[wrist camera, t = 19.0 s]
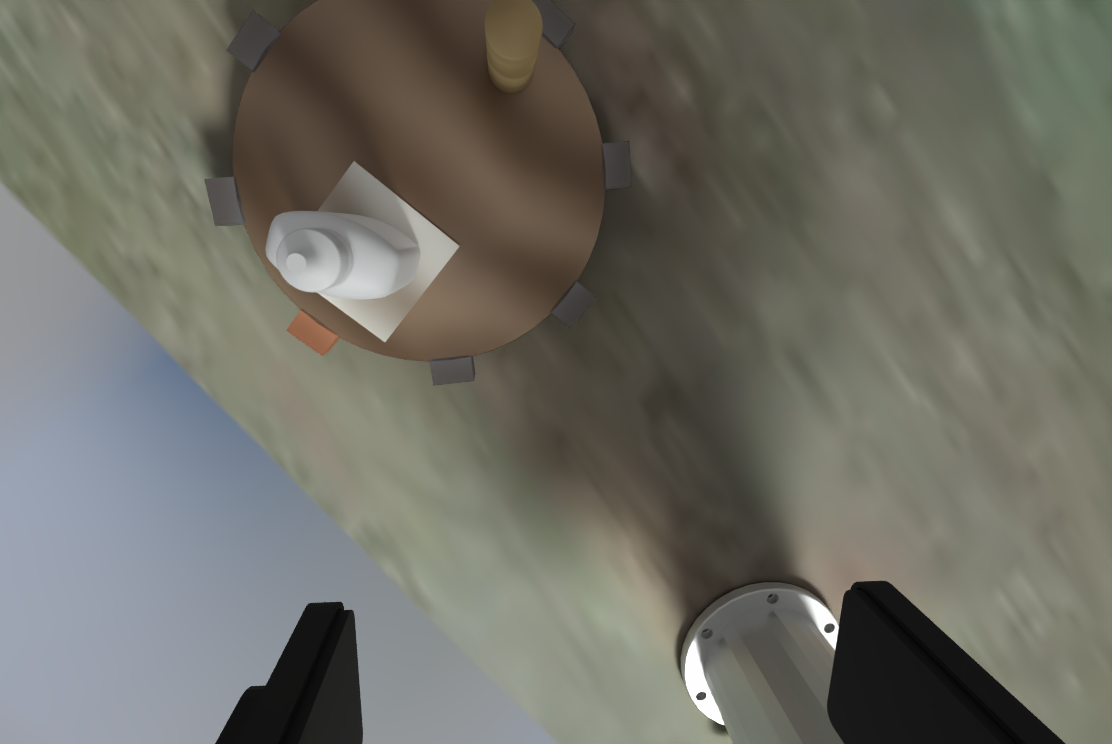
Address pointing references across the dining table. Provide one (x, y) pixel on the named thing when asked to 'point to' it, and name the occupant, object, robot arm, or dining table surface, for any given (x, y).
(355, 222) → the eye dropper bottle
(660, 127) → the dining table surface
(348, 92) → the sprocket
